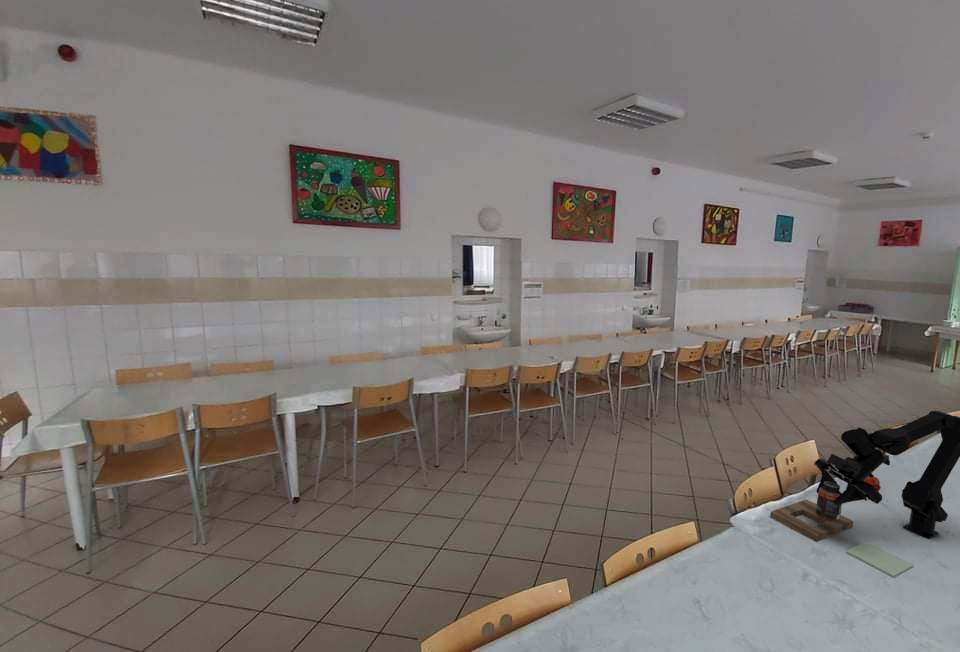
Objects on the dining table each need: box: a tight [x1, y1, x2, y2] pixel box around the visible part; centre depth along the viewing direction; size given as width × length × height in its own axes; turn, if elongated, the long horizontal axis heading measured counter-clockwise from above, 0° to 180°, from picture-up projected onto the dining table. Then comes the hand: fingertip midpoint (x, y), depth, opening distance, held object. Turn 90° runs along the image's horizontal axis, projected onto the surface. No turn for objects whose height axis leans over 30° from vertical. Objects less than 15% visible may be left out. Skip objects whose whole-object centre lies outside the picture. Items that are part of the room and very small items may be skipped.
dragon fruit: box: [850, 475, 882, 492], centre depth 160 cm, size 8×8×12 cm
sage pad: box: [845, 541, 915, 578], centre depth 124 cm, size 11×11×1 cm
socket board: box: [769, 499, 854, 543], centre depth 142 cm, size 20×14×2 cm
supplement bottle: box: [816, 481, 843, 522], centre depth 134 cm, size 6×6×11 cm
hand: (825, 498), depth 134 cm, fingers closed on supplement bottle, 6 cm apart
